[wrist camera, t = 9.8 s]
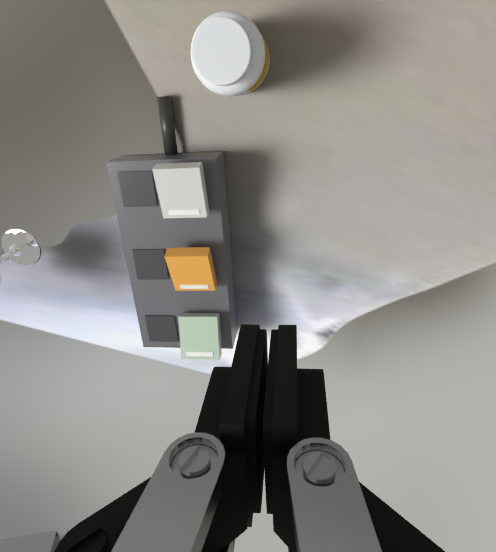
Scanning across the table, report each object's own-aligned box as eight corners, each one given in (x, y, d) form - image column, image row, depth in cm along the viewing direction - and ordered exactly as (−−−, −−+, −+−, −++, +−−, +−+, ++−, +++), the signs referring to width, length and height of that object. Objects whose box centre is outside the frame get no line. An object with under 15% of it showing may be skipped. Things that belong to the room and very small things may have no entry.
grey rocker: (202, 162, 33) (199, 168, 32) (209, 210, 36) (206, 217, 35) (156, 163, 34) (151, 169, 33) (166, 212, 37) (163, 218, 36)
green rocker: (219, 313, 41) (217, 317, 39) (221, 354, 42) (219, 359, 40) (181, 312, 41) (177, 316, 40) (184, 353, 42) (181, 359, 41)
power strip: (219, 93, 36) (210, 94, 32) (237, 328, 46) (232, 350, 42) (113, 99, 37) (92, 101, 33) (155, 327, 48) (142, 349, 44)
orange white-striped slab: (209, 247, 36) (207, 256, 35) (217, 281, 39) (215, 291, 39) (167, 247, 37) (164, 257, 36) (177, 281, 40) (175, 291, 39)
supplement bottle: (259, 13, 33) (247, -13, 24) (278, 82, 35) (272, 80, 26) (200, 38, 34) (167, 21, 25) (221, 103, 36) (197, 108, 27)
